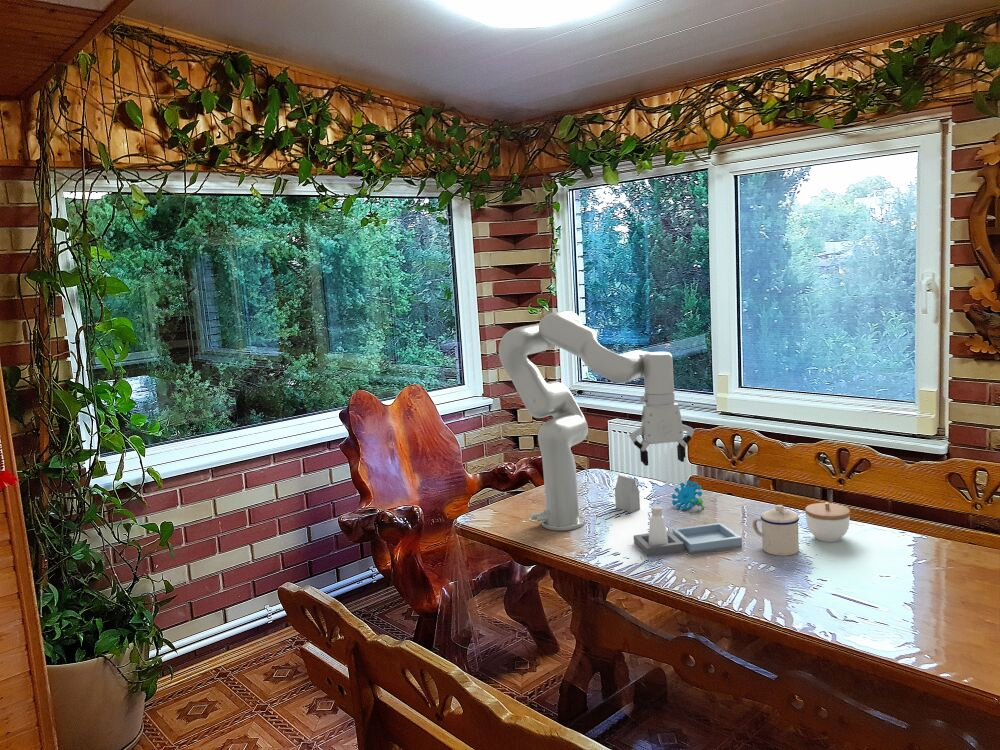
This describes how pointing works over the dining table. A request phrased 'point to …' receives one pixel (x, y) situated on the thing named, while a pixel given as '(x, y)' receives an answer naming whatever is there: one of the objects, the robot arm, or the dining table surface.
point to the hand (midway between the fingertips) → (663, 462)
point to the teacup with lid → (778, 531)
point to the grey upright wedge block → (627, 494)
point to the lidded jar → (827, 521)
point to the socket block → (671, 547)
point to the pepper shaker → (657, 527)
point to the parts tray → (707, 537)
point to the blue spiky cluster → (687, 495)
